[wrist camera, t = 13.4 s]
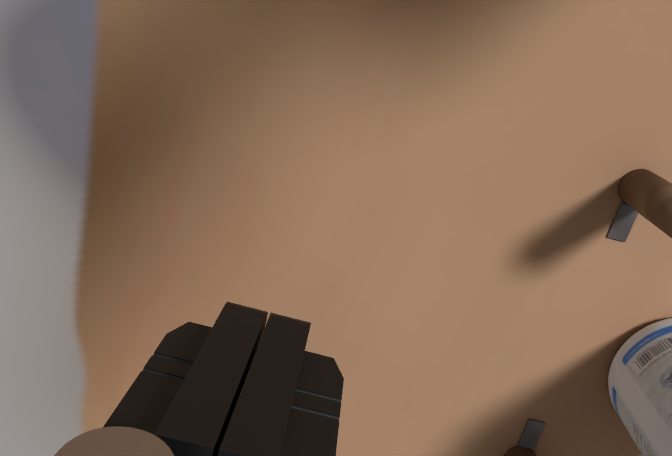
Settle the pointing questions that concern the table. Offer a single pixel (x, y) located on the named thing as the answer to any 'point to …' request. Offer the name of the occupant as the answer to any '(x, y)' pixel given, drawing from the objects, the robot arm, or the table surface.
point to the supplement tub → (645, 387)
